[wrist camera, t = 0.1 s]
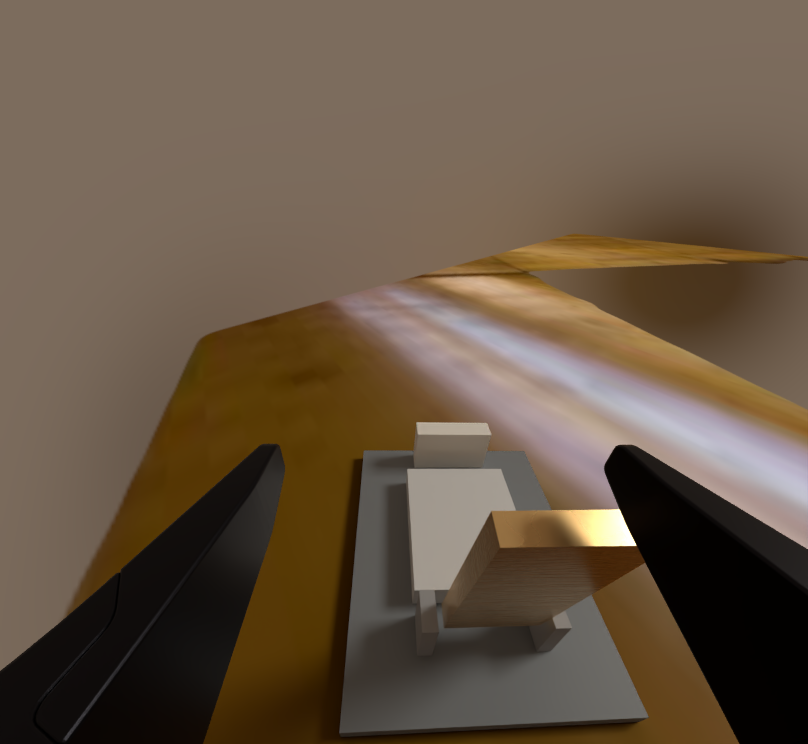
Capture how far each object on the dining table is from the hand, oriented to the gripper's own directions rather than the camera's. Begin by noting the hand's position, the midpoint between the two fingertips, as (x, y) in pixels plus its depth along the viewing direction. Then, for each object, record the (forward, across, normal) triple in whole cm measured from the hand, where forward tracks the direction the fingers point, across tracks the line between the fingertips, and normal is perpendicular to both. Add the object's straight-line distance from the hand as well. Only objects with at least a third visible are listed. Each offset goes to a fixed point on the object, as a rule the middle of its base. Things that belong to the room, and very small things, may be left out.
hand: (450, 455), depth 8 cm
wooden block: (+1, -4, +13) cm, 13 cm away
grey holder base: (+6, -4, +16) cm, 18 cm away
